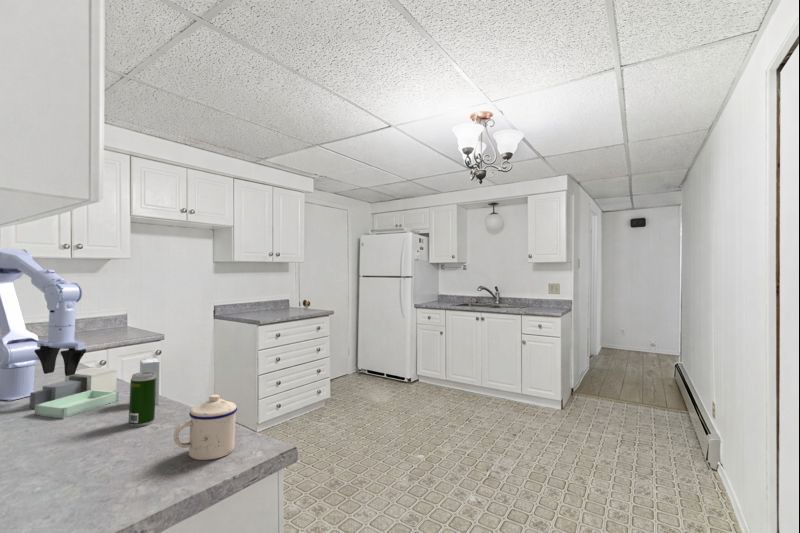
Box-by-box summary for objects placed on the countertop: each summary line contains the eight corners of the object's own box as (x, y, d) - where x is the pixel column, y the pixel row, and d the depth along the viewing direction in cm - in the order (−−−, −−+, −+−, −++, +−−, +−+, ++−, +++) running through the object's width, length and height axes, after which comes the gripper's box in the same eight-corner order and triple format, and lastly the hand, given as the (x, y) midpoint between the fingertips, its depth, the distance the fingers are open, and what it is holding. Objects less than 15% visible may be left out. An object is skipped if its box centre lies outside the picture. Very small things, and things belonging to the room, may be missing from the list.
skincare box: (159, 404, 111) (161, 361, 111) (140, 407, 108) (142, 363, 108) (156, 399, 116) (158, 357, 116) (137, 401, 113) (139, 359, 113)
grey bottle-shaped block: (25, 409, 105) (26, 390, 105) (67, 397, 116) (68, 379, 116) (38, 410, 104) (39, 391, 104) (80, 398, 115) (81, 381, 115)
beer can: (146, 427, 94) (148, 377, 95) (123, 427, 94) (125, 376, 94) (158, 419, 100) (161, 371, 100) (137, 419, 99) (139, 371, 100)
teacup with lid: (224, 439, 89) (226, 387, 89) (242, 452, 83) (245, 396, 83) (165, 455, 80) (168, 397, 81) (180, 471, 74) (183, 408, 74)
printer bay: (64, 394, 117) (65, 372, 117) (91, 387, 125) (92, 367, 125) (90, 397, 115) (91, 375, 115) (116, 390, 123) (117, 369, 123)
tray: (34, 415, 100) (35, 405, 100) (92, 398, 115) (92, 389, 115) (63, 418, 98) (63, 408, 98) (118, 400, 113) (118, 392, 113)
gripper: (26, 326, 109) (23, 375, 109) (67, 328, 106) (64, 379, 106) (53, 323, 116) (50, 369, 116) (93, 325, 113) (90, 373, 112)
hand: (59, 374), depth 111 cm, fingers open, 7 cm apart
